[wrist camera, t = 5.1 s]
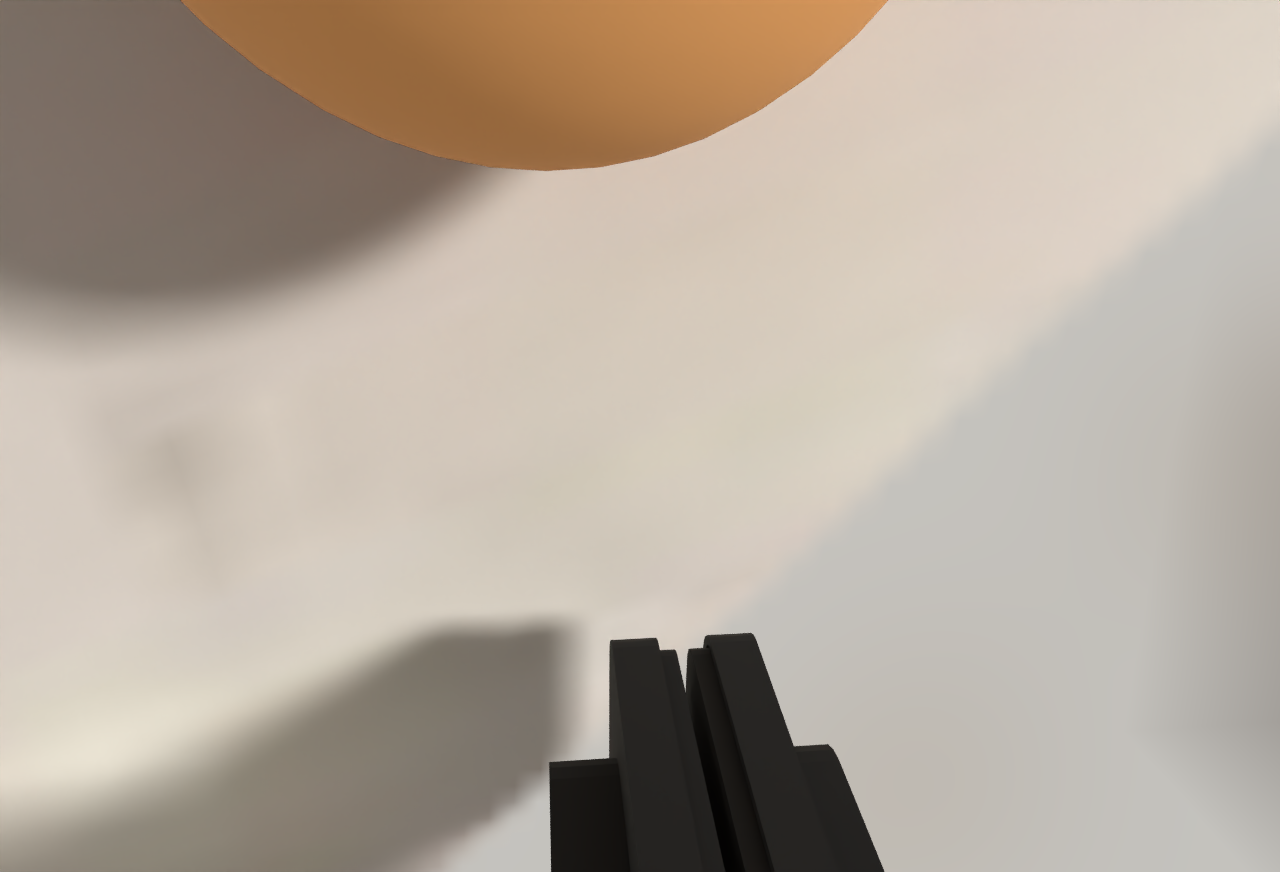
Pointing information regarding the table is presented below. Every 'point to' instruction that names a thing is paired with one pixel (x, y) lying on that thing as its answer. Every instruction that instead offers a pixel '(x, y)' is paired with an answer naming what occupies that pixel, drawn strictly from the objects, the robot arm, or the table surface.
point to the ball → (538, 68)
